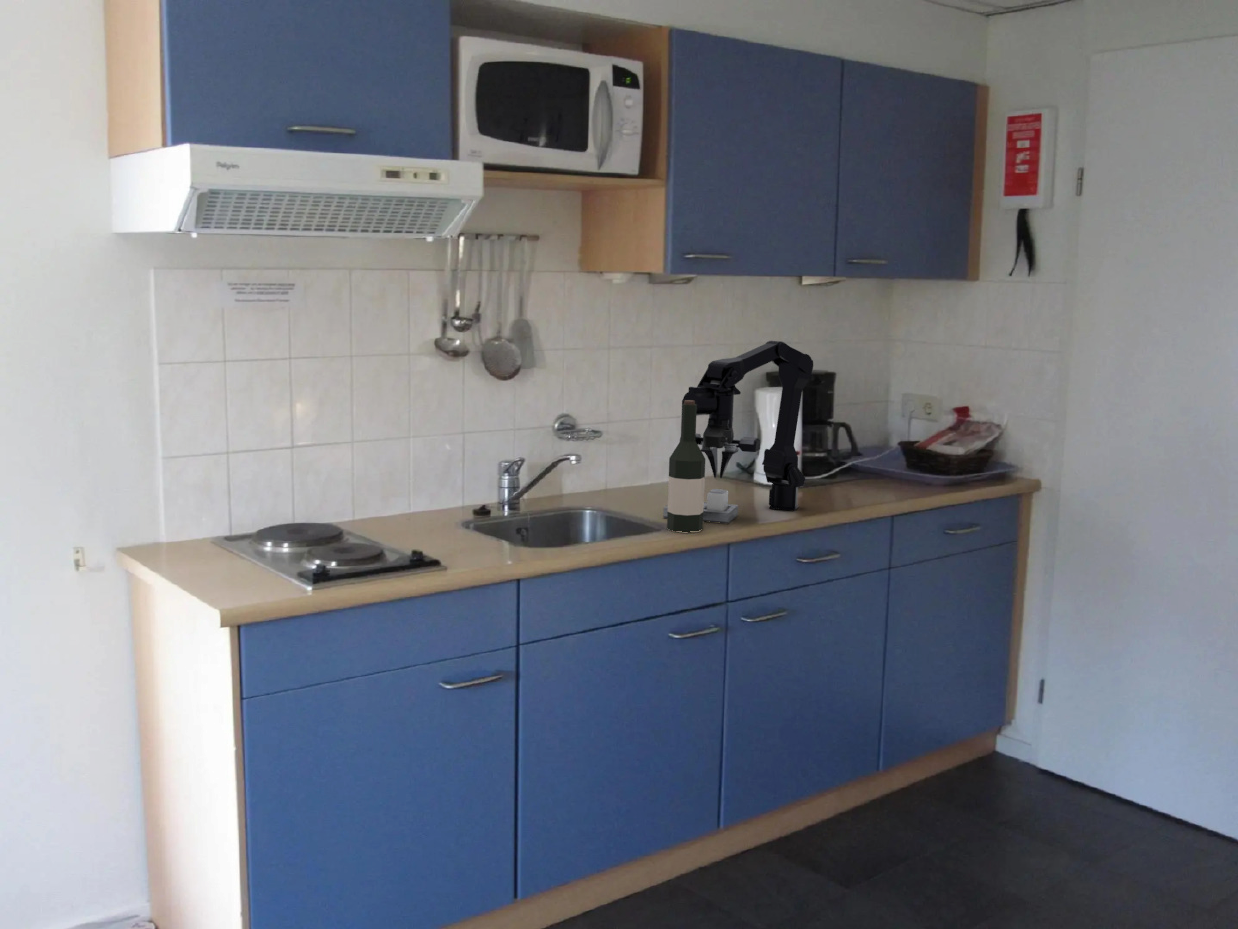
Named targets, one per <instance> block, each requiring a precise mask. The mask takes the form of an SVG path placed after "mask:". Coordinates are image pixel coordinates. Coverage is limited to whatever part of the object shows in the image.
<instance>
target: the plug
mask: <svg viewBox="0 0 1238 929" xmlns="http://www.w3.org/2000/svg"><path fill="white" fill-rule="evenodd" d="M706 496H707V498H706V502H707V510H718V511H726V510H728V504H729V490H727V489H721V488H720V489H718V488H713V489H711V490H709V491H708V492H707V495H706Z"/></svg>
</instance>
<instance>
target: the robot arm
mask: <svg viewBox="0 0 1238 929" xmlns="http://www.w3.org/2000/svg"><path fill="white" fill-rule="evenodd" d="M771 362H772V363H773V364H774V365H775V366H777V368H778V375H777V376H778V378H779V381H780V384H781V386H782V389H781V394H780V395H781V396H780V397H781V398H780V402H779V403H780V404H779V408H778V409H779V410H778V414H777V415H778V417H777V422H776V430H775V436H774V443H773V444H772V445H771V447H770V448H769V449H768V448H765V449H764V452H763V461H762V463H761V465H762V466H763V472H764V475H765V477H766V478H765V480H766V482H767V483H769V484H771V488H770V489H769V491H768V492H769V493H768V494H769V495H768V496H769V497H768V505H769V507H768V508H769V509H770V510H778V509H780V510H781V511H790V510H791V511H792V512H795V511H796V510H797V509H798V508H799V504H798V501H799V500H798V496H799V488H801V487H803V486H804V485H805V483H806V477H805V475H804V474H803V472H802V471H801V470H800V468H799V456H798V454H797V451H796V448H795V441H796V435H797V427H798V419H799V415H800V414H799V413H800V406H801V401H802V393H803V389H804V388H805V387H806V385H807V384H808V383H809V381H810V380H811V376H812V373H813V369H814V360H813V359H812V357H811V356H810V355H809V354H807V353H804V352H801V351H799V350H798V349H795V348H793V347H791V346H789V345H788V344H787V343H786V342H784V341H783V340H782V341H781V340H769V341H767V342H765V343H764V344H761V345H760V346H758V347H756V348H753V349H751V350H748V351H747V352H744V353H742V354H741V355H738V356H736V357H730V358H729V357H727V358H721V359H716V360H715V359H714V360H711V361H710V362H709V363H708V367H707V369H706V371H705V372H704V374H703V376H702V377H701V379H700V381H699V383H698V384H697V385H696V386H689V387H688V391H687V392H686V393H685V394H684V396H683V398H682V400H681V405H682V404H684V401H685V400H693V401H695V404H696V405H697V413H696V417H697V416H708V421H707V426H706V428H705V430H704V432H703V434H702V435H701V433H696V440H695V441H696V443H697V444H698V446H701V448H700V450H701V452H702V453H704V454H705V455H706V457H707V459H708V461H709V464H710V468H711V471H712V475H713V478H714V479H716V478H718V449H723V448H724V449H723V450H722V451H721V461H720V462H721V463H720V468H719V469H720V470H719V478H720V479H722V478H723V477H724V475H725V472H726V470H727V467H728V464H729V463H730V460H731V459H732V457H733V455H734V454H737V453H738V452H739V449H740V450H741V451H742V452H747V453H748V452H749V453H757V452H758V451H760V449H761V440H760V439H759V437H748V436H743V437H742V438H740V439H734V438H735V435H734V429H733V425H734V424H733V423H734V399H735V398H734V397H735V396H736V395H737V396H738V395H741V393H742V391H741V390H739V388H737V386H736V385H737V384H738V383H739V382H740V381H742V380H743V379H744V377H745V376H746V374H748V373H750V372H751V371H754V370H756V369H758V368H761V367H763V366H764V365H767V364H769V363H771ZM701 436H702V437H701ZM680 441H681V436H680V438H679V442H680Z"/></svg>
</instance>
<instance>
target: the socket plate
mask: <svg viewBox="0 0 1238 929" xmlns="http://www.w3.org/2000/svg"><path fill="white" fill-rule="evenodd" d="M667 512H668V504H667V505H665V506H664V507H663V512H662V515H663V516H662V517H664V518H663V519H667ZM737 515H738V516H739V504H732V503H731V504H730V503H728V510H726V511H718V510H707V501H704V508H703V521H710V522H709V523H711V522H720V523H719V524H722V523H729V522H730V521H731V522H732V521H733V520H734V519H735V518H737V517H736V516H737ZM731 522H730V523H731ZM730 523H729V524H730Z"/></svg>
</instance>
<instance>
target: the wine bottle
mask: <svg viewBox="0 0 1238 929" xmlns="http://www.w3.org/2000/svg"><path fill="white" fill-rule="evenodd" d="M696 413H697V405H696V404H695V401H693V400H685V401H684V404H682V403H681V421H680V422H681V424H680V437H681V441H680V440H679V442H678V444H677V446H676V447H675V448H674V450H673V452H672V453H671V455H670V456H669V459H668V486H667V487H668V488H667V490H668V491H667V496H668V497H667V505H668V512H667V518H666V529H667V528H668V529H670V530H673V531H682V532H690V531H699V530H701V529H703V530H704V522H703V508H704V502H705V483H706V482H705V479H706V478H705V477H706V457H705V456H704V454H703V452H701V448H700V447H699V446H700V445H698V444H697V443H696V441H695V440H696V434H697V416H696ZM668 529H667V530H668ZM670 530H669V531H670ZM701 531H702V530H701Z"/></svg>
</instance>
